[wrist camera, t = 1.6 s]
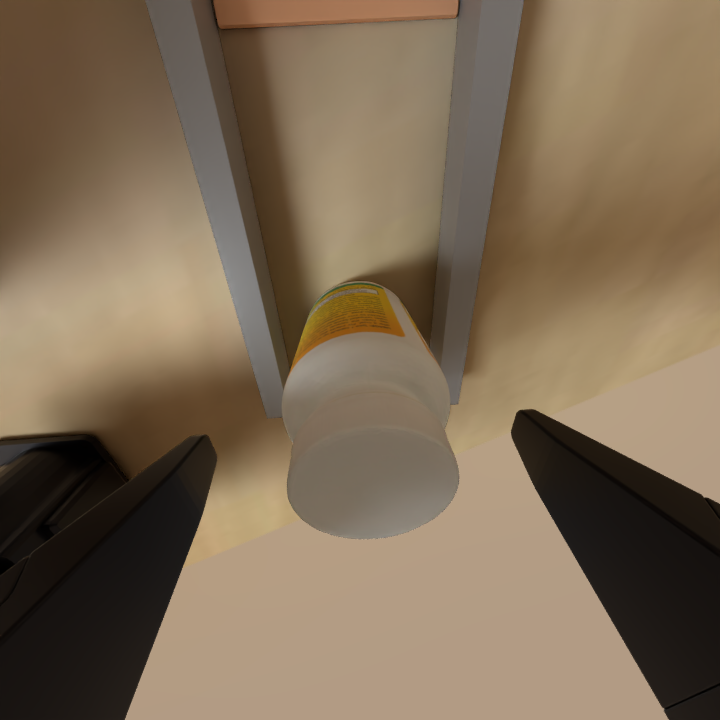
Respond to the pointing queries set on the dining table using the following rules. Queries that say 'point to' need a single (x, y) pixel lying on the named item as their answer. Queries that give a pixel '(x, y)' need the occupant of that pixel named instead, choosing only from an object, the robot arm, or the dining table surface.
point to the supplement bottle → (367, 418)
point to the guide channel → (231, 179)
